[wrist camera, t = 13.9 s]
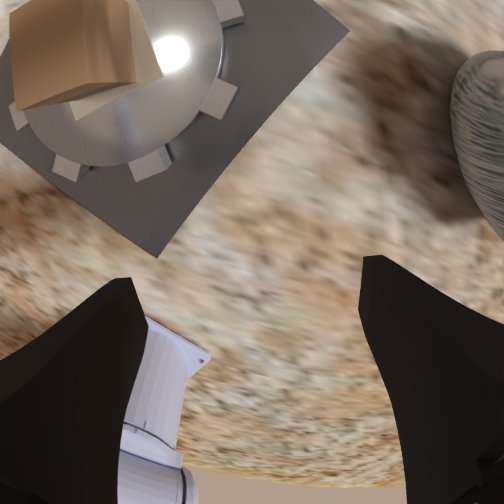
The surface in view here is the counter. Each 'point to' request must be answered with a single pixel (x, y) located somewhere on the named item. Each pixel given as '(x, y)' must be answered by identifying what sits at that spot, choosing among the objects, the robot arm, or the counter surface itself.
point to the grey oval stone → (481, 132)
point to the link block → (69, 50)
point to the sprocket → (144, 92)
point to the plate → (201, 129)
